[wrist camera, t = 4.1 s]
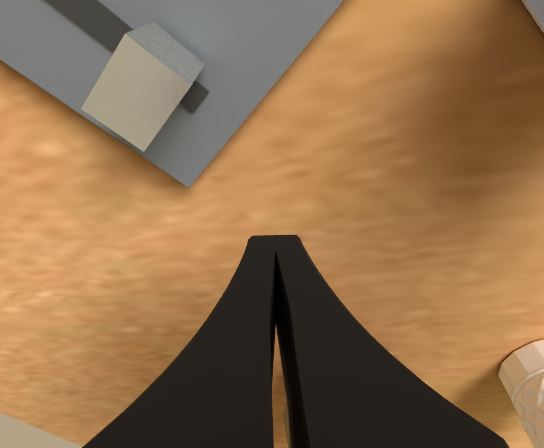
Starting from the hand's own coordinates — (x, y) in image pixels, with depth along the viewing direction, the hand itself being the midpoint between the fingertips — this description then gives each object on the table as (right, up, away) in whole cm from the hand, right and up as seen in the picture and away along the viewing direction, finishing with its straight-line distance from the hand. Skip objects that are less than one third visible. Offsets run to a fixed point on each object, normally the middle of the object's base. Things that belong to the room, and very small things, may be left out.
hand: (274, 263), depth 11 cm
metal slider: (-5, +7, +5) cm, 10 cm away
